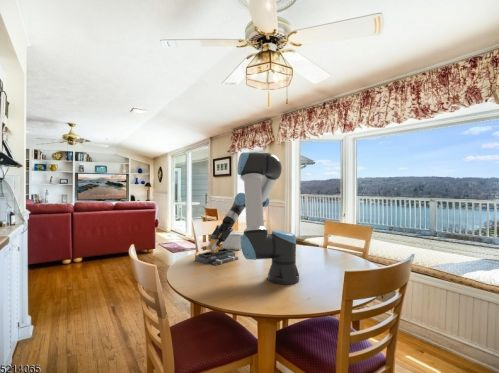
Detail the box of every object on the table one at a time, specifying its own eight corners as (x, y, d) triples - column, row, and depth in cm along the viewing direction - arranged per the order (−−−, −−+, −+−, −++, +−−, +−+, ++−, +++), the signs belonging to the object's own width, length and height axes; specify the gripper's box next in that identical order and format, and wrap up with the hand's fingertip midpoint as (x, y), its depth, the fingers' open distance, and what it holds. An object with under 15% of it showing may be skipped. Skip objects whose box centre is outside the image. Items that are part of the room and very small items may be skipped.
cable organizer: (245, 247, 205) (246, 231, 205) (242, 250, 194) (242, 233, 194) (226, 245, 208) (226, 230, 208) (221, 249, 198) (221, 232, 198)
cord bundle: (233, 257, 175) (233, 255, 175) (238, 259, 172) (238, 256, 172) (210, 263, 161) (210, 260, 161) (216, 265, 158) (216, 262, 158)
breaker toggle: (214, 252, 174) (214, 234, 174) (219, 253, 171) (219, 235, 171) (209, 253, 171) (209, 235, 171) (213, 255, 168) (214, 236, 168)
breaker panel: (222, 253, 184) (222, 247, 184) (235, 257, 176) (235, 250, 176) (195, 260, 168) (195, 253, 168) (208, 264, 160) (208, 257, 160)
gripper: (242, 224, 178) (223, 255, 165) (224, 221, 189) (205, 250, 176) (236, 216, 174) (216, 247, 161) (218, 214, 185) (198, 243, 172)
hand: (210, 249), depth 169 cm, fingers closed on breaker toggle, 4 cm apart
